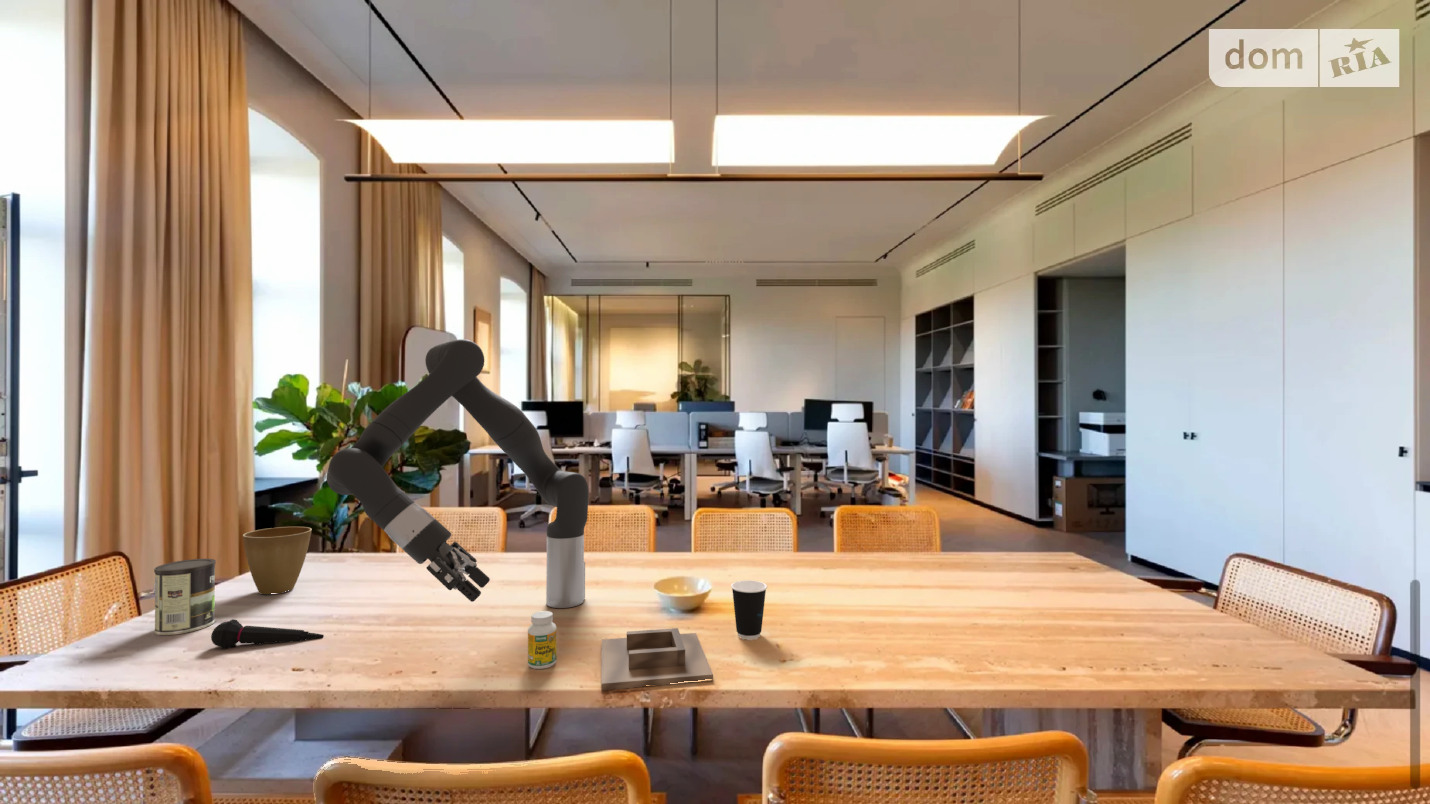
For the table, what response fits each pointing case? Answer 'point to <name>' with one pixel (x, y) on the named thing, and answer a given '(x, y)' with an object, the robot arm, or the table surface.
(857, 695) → the table surface
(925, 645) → the table surface
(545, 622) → the supplement bottle
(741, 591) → the dixie cup
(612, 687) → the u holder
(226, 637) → the microphone
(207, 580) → the coffee can
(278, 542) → the plant pot
